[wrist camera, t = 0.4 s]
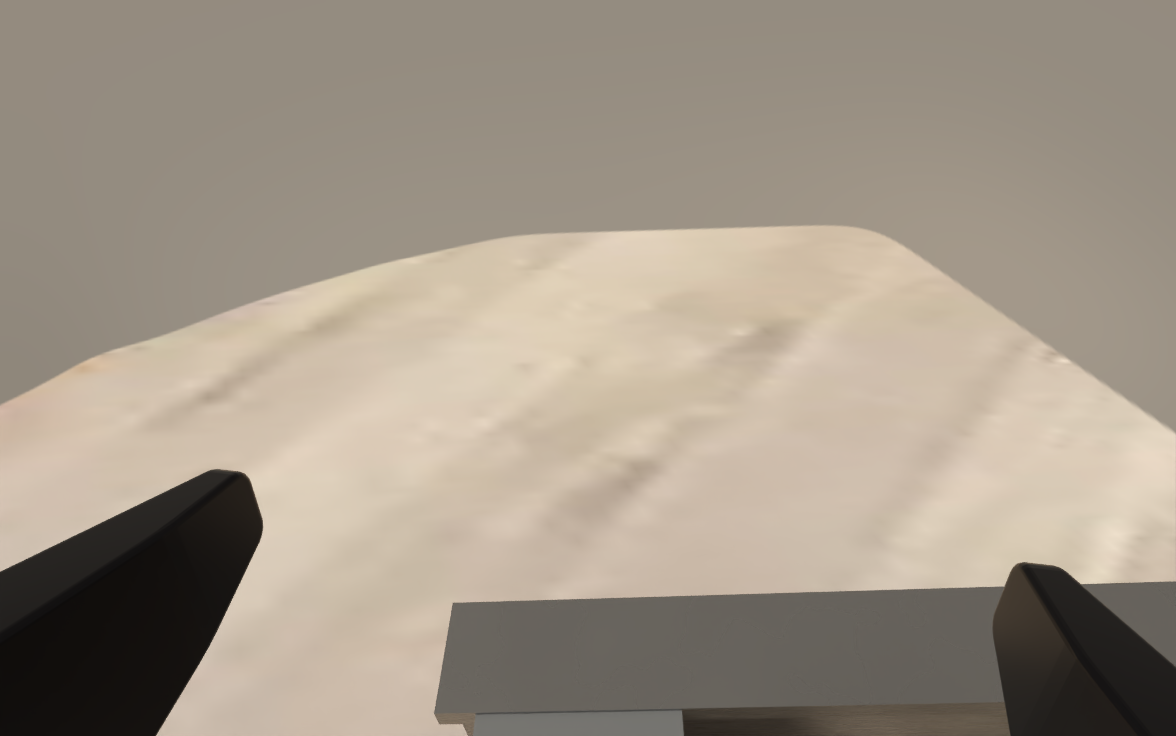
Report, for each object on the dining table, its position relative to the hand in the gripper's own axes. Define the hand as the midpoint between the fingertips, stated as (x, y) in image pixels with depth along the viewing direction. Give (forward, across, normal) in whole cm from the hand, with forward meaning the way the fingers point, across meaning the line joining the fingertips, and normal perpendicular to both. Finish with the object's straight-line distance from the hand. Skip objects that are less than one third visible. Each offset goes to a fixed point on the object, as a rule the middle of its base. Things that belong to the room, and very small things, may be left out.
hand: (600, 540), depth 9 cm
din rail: (+9, -8, +14) cm, 18 cm away
